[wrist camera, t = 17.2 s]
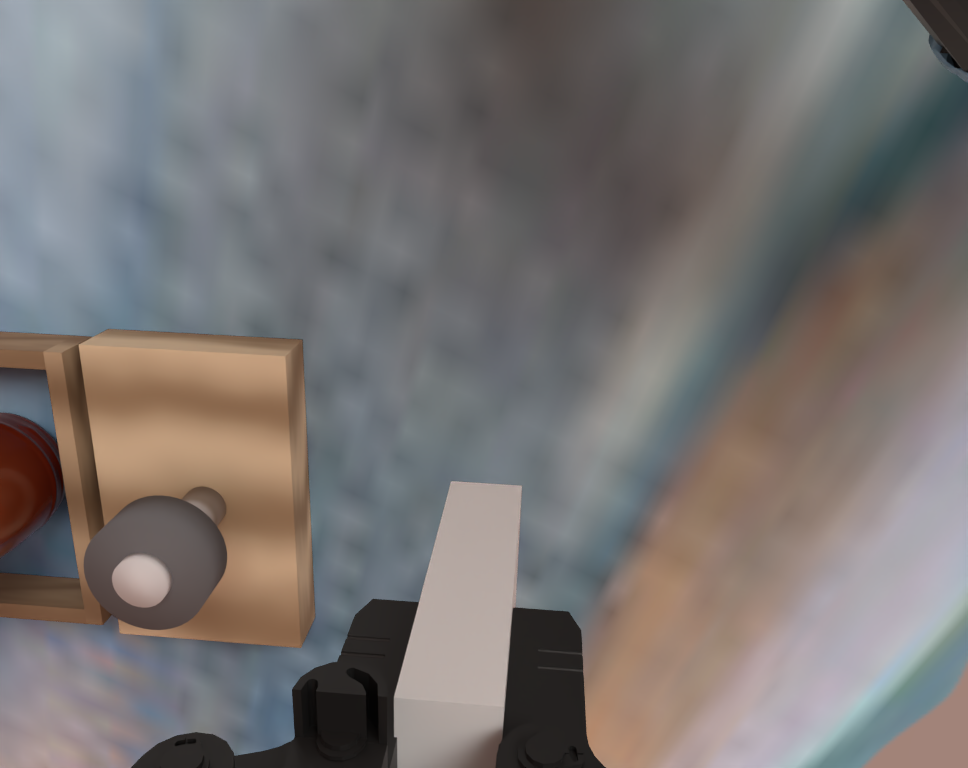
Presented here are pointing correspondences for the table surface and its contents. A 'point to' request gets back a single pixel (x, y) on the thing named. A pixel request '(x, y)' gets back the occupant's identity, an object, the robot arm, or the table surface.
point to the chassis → (182, 468)
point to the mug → (26, 479)
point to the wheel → (155, 562)
